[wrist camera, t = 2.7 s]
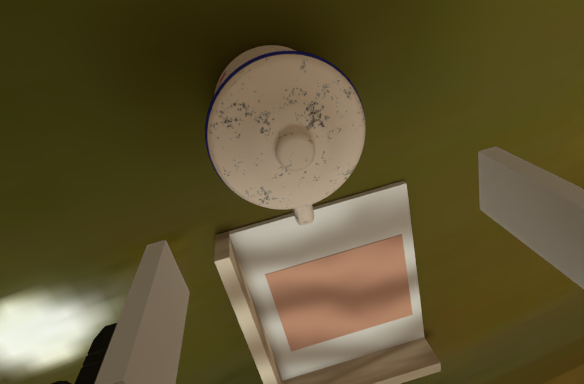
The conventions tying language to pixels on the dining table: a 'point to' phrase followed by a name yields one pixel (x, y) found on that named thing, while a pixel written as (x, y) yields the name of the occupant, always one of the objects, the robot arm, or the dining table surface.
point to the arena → (330, 293)
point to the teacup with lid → (284, 129)
